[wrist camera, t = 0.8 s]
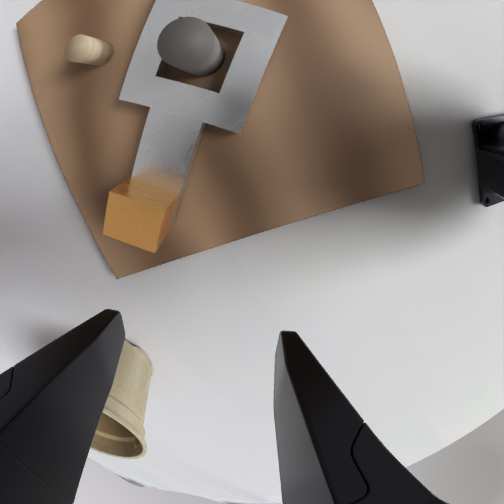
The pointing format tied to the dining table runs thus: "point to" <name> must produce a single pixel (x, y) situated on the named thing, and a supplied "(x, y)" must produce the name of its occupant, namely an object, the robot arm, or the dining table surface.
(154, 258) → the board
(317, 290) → the dining table surface
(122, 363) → the flower pot
